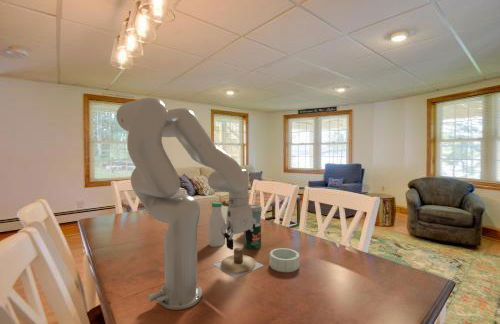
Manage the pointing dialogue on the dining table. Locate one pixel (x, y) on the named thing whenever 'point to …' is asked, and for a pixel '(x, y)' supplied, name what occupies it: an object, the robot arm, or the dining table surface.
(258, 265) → the mat
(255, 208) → the disposable coffee cup
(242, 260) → the lid
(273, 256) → the bowl
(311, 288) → the dining table surface
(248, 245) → the canned tomato
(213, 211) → the milk bottle
